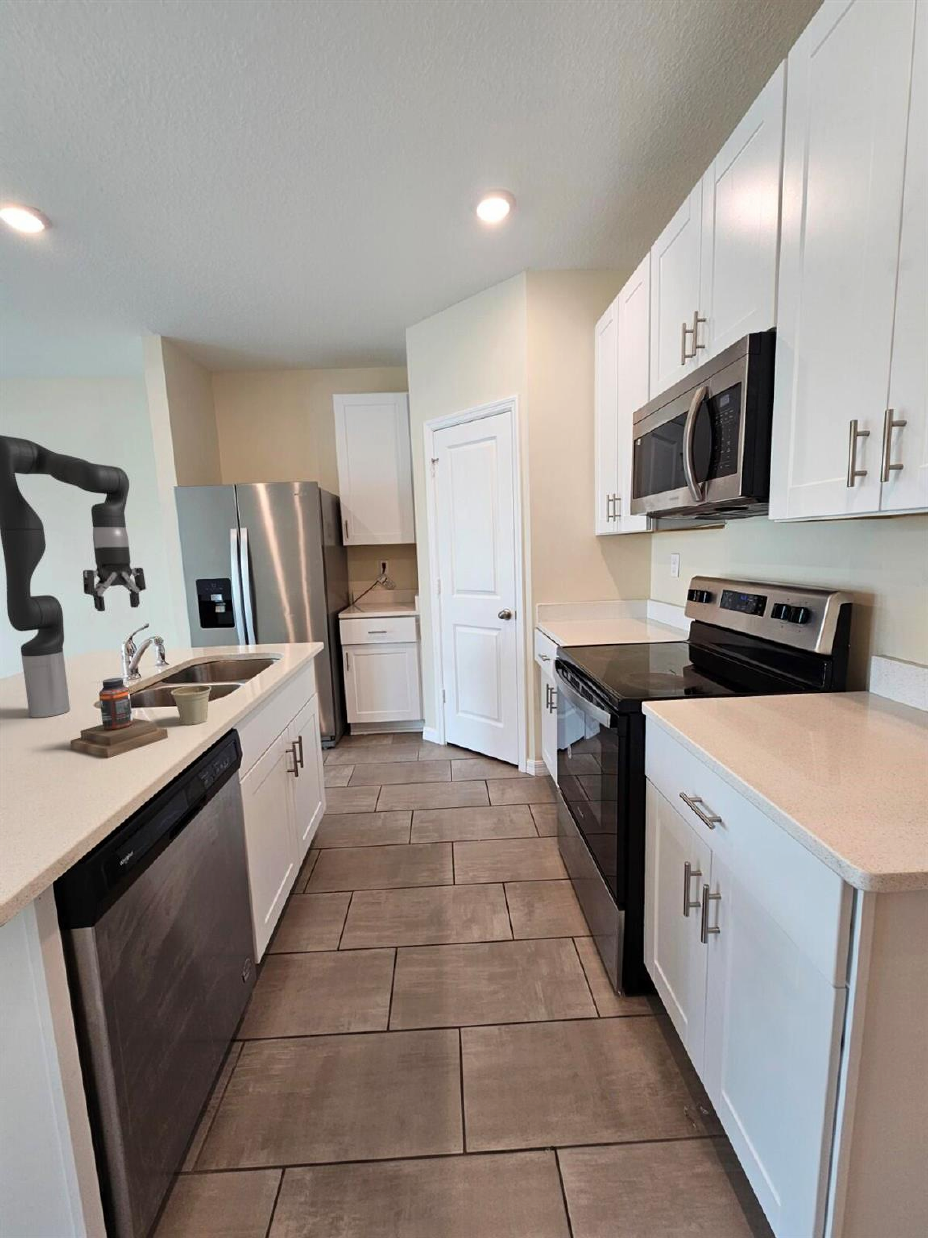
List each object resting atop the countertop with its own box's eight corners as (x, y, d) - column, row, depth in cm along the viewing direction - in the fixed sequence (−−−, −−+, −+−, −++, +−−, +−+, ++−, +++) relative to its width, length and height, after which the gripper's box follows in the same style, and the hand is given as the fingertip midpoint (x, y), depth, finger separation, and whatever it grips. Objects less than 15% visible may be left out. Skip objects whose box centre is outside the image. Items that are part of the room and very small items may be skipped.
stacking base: (71, 748, 124) (69, 732, 124) (131, 730, 137) (130, 714, 136) (108, 758, 118) (106, 740, 117) (167, 737, 130) (166, 721, 130)
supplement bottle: (138, 722, 130) (133, 676, 128) (121, 730, 124) (116, 682, 122) (115, 722, 130) (110, 676, 129) (96, 730, 124) (91, 682, 123)
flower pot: (203, 727, 138) (200, 694, 137) (166, 727, 138) (163, 694, 137) (220, 716, 147) (217, 685, 146) (186, 716, 147) (183, 685, 146)
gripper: (130, 545, 145) (136, 606, 147) (72, 546, 133) (80, 611, 135) (147, 545, 142) (153, 606, 144) (90, 545, 129) (98, 612, 131)
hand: (118, 609), depth 139 cm, fingers open, 8 cm apart
